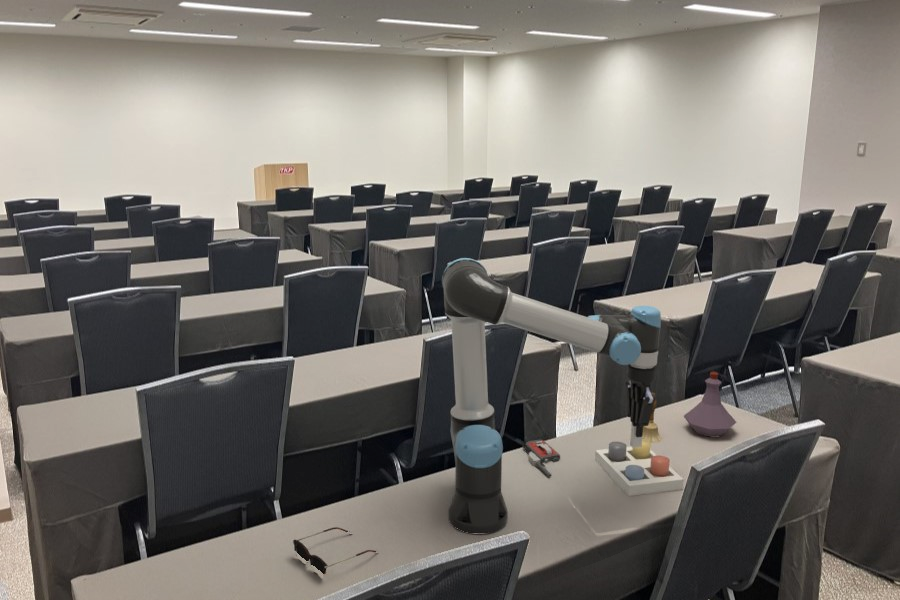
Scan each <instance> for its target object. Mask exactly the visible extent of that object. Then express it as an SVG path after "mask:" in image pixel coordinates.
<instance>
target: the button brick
mask: <svg viewBox="0 0 900 600" xmlns="http://www.w3.org/2000/svg"><path fill="white" fill-rule="evenodd" d="M670 463H671V462H670V458H668V457H667V456H664V455H657V454H656V456H652V457H651V465H650V473H651V474H652V475H654V476H657V477H666V476H668V474H669V467H670Z"/></svg>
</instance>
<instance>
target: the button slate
mask: <svg viewBox="0 0 900 600" xmlns="http://www.w3.org/2000/svg"><path fill="white" fill-rule="evenodd" d="M625 477H626V478H627V479H628V480H629V481H634V480H642V479H644V468H643V467H641V466H638V465H628V466H626V471H625Z"/></svg>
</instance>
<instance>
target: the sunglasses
mask: <svg viewBox="0 0 900 600" xmlns="http://www.w3.org/2000/svg"><path fill="white" fill-rule="evenodd" d="M333 530H339V531H343V532H345V533H347V532H348V531H349V530H347V529H344V528H341V527H339V526H338V527H337V526H336V527H331V528H330V527H329V528H328V529H324V530H322V531H318V532H316V533H312V534H310V535H307V536H304V537H301V538H297V539H293V540H292V544H293V546H294V548H293V549H294V551H295V553H296V552H297V553H298V554H299V555H300V556H301V557H302V558H304V559H305V560H306V561H309V562H310V563H309V564H310V566H311V565H313V566H315V567H316V568H317V569H318V570H320V571H321V572H322V573H323V574H324V575H326V574H327V569H328V568H329V567H332V566H335V565H336V564H340V563H342V562H345V561H347V560H348V561H349V560H350V559H353V558H355V557H358V556H362V555H364V554H366V553H375V552H376V551H377V550H373V549H366V550H364V551H361V552H358V553H357V554H355V555H352V556H349V557H347V558H344V559H341V560H339V561H336V562H332V563H329V564H327V563H326V562H325V561H324V560H323V559H322V558H321V557H320V556H318V555H315V554H311V553H310V551H309V549H308V548H307V547H306V546H305V545H304V544H303V542H301V541H302V540H305V539H308V538H312V537H314V536H317V535H319V534H323V533H325V532H328V531H333Z"/></svg>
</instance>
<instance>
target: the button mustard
mask: <svg viewBox="0 0 900 600" xmlns="http://www.w3.org/2000/svg"><path fill="white" fill-rule="evenodd" d="M650 450H651V443H650V442H649V441H647V440H644V439H642V447H634V448H632V456H633V457H635V458H638V459H647V458H649V457H650Z"/></svg>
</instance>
